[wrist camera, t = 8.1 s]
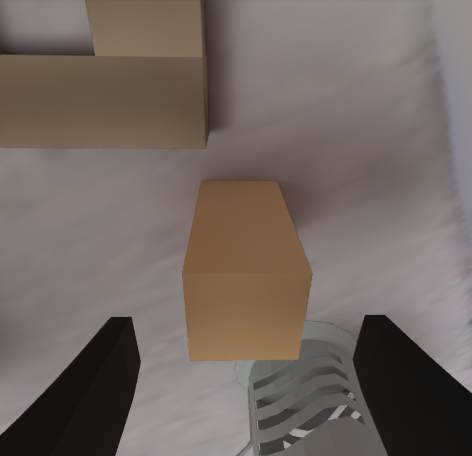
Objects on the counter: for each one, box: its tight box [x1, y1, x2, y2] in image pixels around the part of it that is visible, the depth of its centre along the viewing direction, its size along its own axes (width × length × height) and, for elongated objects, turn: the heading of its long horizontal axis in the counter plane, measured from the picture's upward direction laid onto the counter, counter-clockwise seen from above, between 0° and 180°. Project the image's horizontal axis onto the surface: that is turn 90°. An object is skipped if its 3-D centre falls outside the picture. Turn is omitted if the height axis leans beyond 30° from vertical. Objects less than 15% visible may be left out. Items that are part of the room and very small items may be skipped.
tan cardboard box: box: [182, 181, 312, 361], centre depth 14 cm, size 4×4×8 cm
